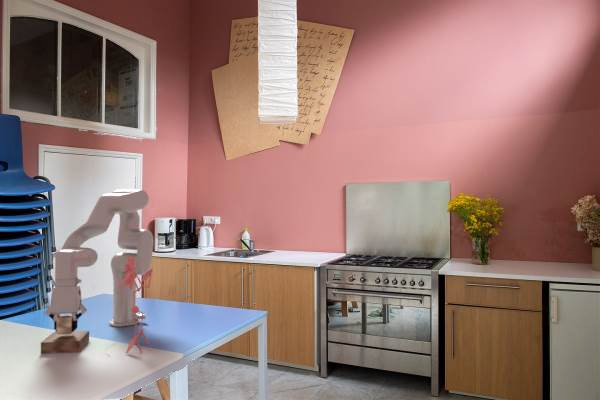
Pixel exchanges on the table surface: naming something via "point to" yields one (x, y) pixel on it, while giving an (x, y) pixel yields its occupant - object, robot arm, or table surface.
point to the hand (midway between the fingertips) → (65, 330)
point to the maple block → (64, 324)
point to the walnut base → (65, 342)
